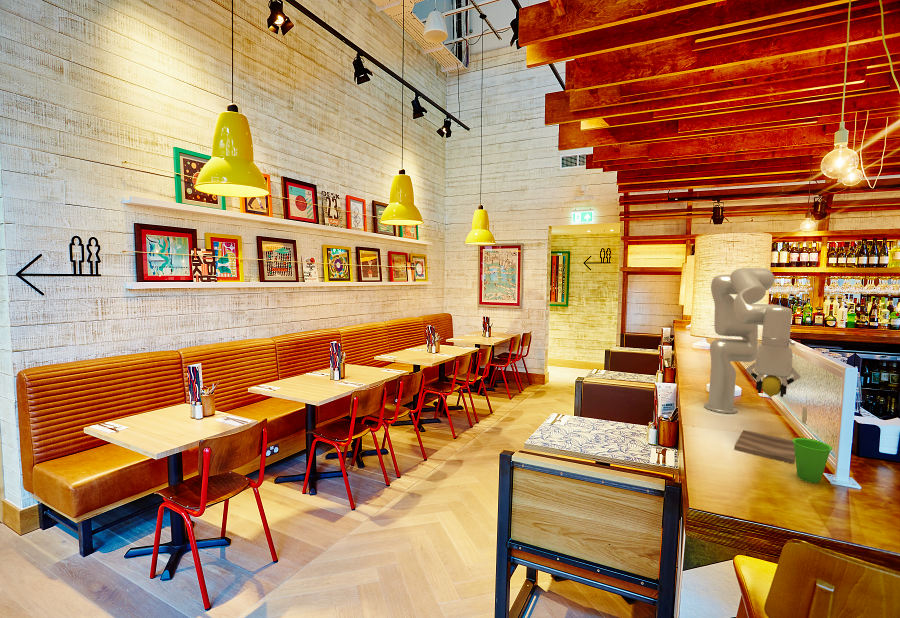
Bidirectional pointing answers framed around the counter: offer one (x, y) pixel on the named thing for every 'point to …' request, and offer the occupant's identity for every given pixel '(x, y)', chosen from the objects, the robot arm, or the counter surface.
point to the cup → (810, 458)
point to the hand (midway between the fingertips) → (770, 393)
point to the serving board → (766, 446)
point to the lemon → (771, 385)
